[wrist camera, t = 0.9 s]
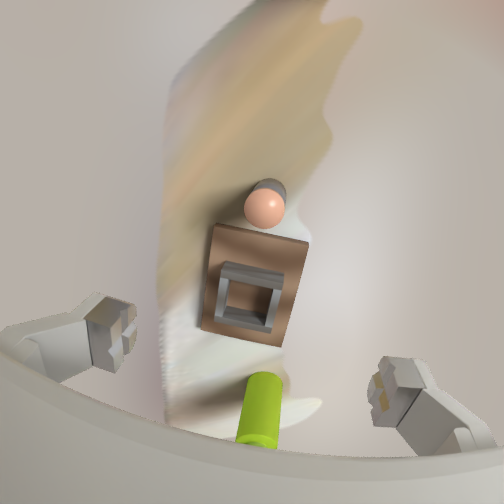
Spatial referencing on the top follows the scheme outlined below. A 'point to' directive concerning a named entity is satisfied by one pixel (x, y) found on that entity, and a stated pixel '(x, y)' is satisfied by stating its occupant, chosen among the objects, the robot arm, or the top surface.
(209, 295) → the wooden socket board
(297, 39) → the top surface
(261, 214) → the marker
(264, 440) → the soap dispenser
